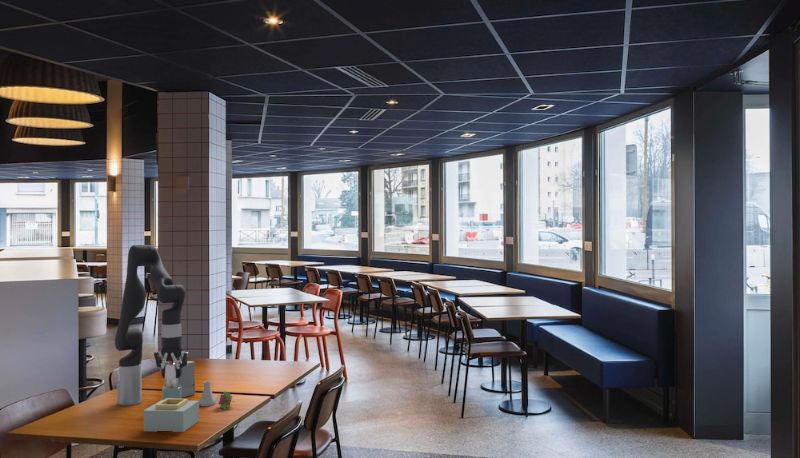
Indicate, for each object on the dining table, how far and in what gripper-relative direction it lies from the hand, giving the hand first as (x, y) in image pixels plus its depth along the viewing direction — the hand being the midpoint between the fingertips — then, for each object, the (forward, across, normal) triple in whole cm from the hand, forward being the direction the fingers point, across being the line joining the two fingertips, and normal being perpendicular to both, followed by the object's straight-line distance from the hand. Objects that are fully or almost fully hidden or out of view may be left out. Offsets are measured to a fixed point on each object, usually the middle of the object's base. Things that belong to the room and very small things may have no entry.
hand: (171, 377), depth 231 cm
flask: (+19, +2, +29) cm, 35 cm away
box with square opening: (+19, 0, 0) cm, 19 cm away
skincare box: (+19, -15, +42) cm, 49 cm away
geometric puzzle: (+19, +12, +25) cm, 34 cm away
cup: (+19, -10, +20) cm, 30 cm away
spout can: (+3, 0, 0) cm, 3 cm away
